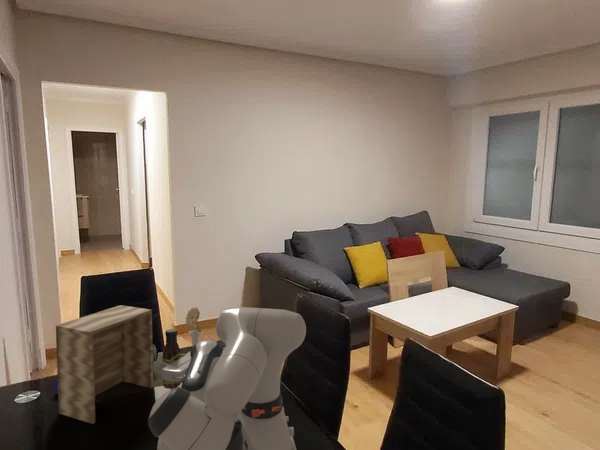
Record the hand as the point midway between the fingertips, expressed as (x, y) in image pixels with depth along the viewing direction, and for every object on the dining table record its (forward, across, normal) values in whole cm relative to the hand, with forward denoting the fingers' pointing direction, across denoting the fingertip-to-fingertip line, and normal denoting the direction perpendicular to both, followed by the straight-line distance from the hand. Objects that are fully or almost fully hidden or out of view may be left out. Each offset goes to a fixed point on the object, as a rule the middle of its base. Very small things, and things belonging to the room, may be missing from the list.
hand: (169, 360), depth 142 cm
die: (+34, -14, -12) cm, 39 cm away
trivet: (-1, 0, -12) cm, 12 cm away
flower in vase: (+7, +24, -12) cm, 27 cm away
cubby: (+16, -12, -12) cm, 23 cm away
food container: (+23, +12, -12) cm, 29 cm away
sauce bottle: (-1, 0, -9) cm, 9 cm away
